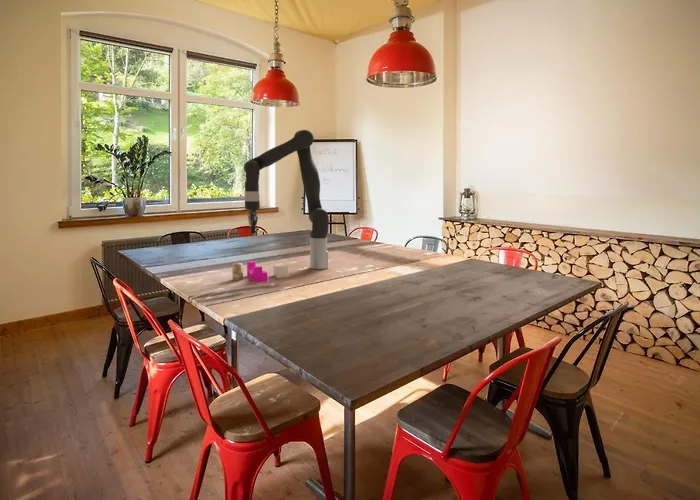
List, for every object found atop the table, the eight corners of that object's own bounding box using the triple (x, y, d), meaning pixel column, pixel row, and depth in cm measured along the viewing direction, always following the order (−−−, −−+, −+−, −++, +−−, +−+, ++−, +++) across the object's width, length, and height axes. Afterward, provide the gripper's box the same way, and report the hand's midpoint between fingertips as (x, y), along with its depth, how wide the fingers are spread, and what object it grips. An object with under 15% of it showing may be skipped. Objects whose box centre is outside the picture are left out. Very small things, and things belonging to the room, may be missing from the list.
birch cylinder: (241, 278, 230) (241, 262, 228) (243, 280, 225) (243, 264, 224) (231, 279, 228) (231, 263, 226) (233, 281, 223) (233, 265, 222)
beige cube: (284, 274, 240) (284, 263, 239) (288, 277, 234) (288, 265, 233) (273, 275, 237) (273, 264, 236) (276, 278, 232) (276, 266, 231)
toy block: (267, 281, 225) (267, 266, 223) (254, 282, 222) (254, 267, 221) (259, 275, 238) (258, 260, 237) (247, 276, 235) (246, 261, 234)
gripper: (262, 200, 231) (263, 234, 235) (256, 199, 243) (256, 231, 246) (247, 201, 228) (248, 235, 231) (242, 199, 240) (242, 232, 243)
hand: (252, 233), depth 239 cm, fingers closed
